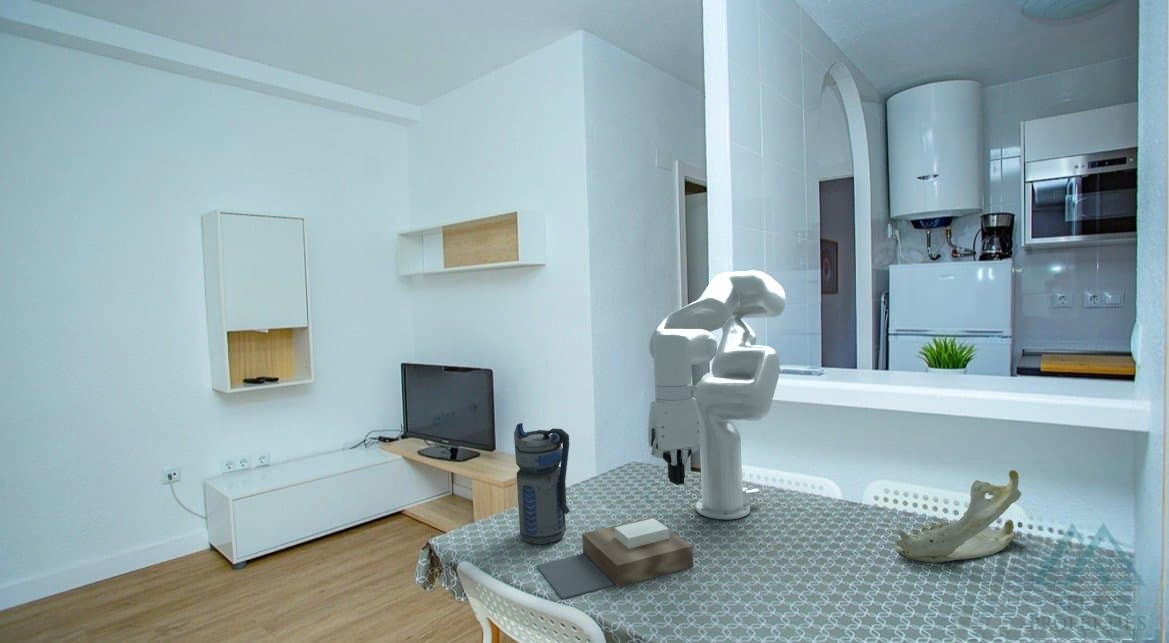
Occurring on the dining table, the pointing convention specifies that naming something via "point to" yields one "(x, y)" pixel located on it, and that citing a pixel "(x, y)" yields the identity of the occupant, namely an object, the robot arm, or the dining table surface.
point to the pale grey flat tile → (641, 533)
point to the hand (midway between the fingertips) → (676, 482)
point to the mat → (574, 576)
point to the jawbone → (966, 528)
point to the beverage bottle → (541, 483)
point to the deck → (635, 556)
